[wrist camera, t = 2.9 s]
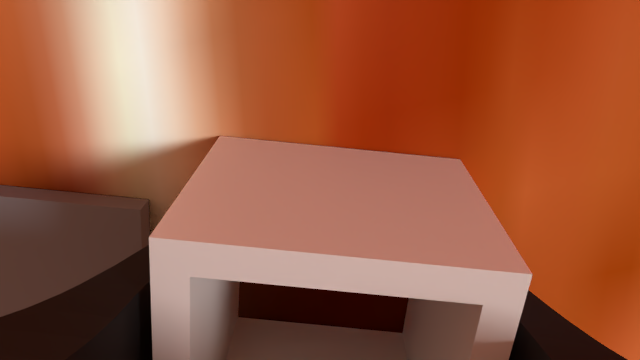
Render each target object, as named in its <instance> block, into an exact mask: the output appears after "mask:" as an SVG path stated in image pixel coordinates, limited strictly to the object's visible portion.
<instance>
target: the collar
mask: <svg viewBox="0 0 640 360" xmlns="http://www.w3.org/2000/svg"><path fill="white" fill-rule="evenodd" d="M149 259H150V292H151V324H152V357H153V360H509V357H510V353H511V350H512V346H513V343H514V339H515V336H516V332H517V328H518V325H519V321H520V318H521V314H522V310H523V307H524V303H525V300H526V296H527V292H528V289H529V285H530V282H531V278H532V275H533V274H532V273H531V271H530V270H529V268H528V267H527V265H526V263H525V262H524V260H523V259H522V257H521V255H520V254H519V252H518V251H517V249H516V247H515V246H514V244H513V243H512V241H511V239H510V238H509V236H508V235H507V233H506V232H505V230H504V228H503V227H502V225H501V224H500V222H499V220H498V219H497V217H496V216H495V214H494V212H493V211H492V209H491V208H490V206H489V205H488V203H487V201H486V200H485V198H484V197H483V195H482V193H481V192H480V190H479V189H478V187H477V185H476V184H475V182H474V181H473V179H472V177H471V176H470V174H469V173H468V171H467V170H466V168H465V166H464V165H463V163H462V162H461V160H460V159H451V158H440V157H430V156H420V155H410V154H400V153H389V152H379V151H369V150H359V149H349V148H338V147H328V146H318V145H308V144H298V143H287V142H277V141H267V140H257V139H246V138H236V137H226V136H219V138H218V139H217V141H216V142H215V144H214V145H213V146H212V148H211V149H210V151H209V152H208V154H207V155H206V156H205V158H204V159H203V161H202V162H201V164H200V165H199V166H198V168H197V169H196V171H195V172H194V174H193V175H192V176H191V178H190V179H189V181H188V182H187V183H186V185H185V186H184V188H183V189H182V191H181V192H180V193H179V195H178V196H177V198H176V199H175V201H174V202H173V203H172V205H171V206H170V208H169V209H168V211H167V212H166V213H165V215H164V216H163V218H162V219H161V221H160V222H159V223H158V225H157V226H156V228H155V229H154V231H153V232H152V233H151V235H150V236H149ZM240 282H250V283H261V284H271V285H281V286H292V287H302V288H312V289H323V290H333V291H343V292H354V293H364V294H374V295H384V296H395V297H405V298H409V299H408V305H407V310H406V316H405V321H404V327H403V332H402V333H397V332H387V331H376V330H366V329H356V328H345V327H335V326H325V325H314V324H304V323H294V322H283V321H273V320H263V319H252V318H242V317H238V309H239V285H240Z"/></svg>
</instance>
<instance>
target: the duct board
mask: <svg viewBox="0 0 640 360" xmlns="http://www.w3.org/2000/svg"><path fill="white" fill-rule="evenodd" d="M149 236H150V222H149V200H148V199H138V198H128V197H117V196H107V195H97V194H87V193H76V192H66V191H56V190H46V189H35V188H25V187H15V186H4V185H0V317H2V316H5V315H8V314H10V313H13V312H16V311H19V310H22V309H25V308H27V307H30V306H33V305H35V304H37V303H40V302H42V301H44V300H47V299H49V298H51V297H54V296H56V295H58V294H61V293H63V292H65V291H67V290H69V289H71V288H73V287H75V286H77V285H79V284H81V283H83V282H85V281H87V280H89V279H91V278H92V277H94V276H96V275H98V274H100V273H102V272H103V271H105V270H107V269H109V268H111V267H113V266H114V265H116V264H118V263H120V262H121V261H123V260H124V259H126V258H128V257H129V256H131V255H133V254H134V253H136V252H138V251H139V250H141V249H143V248H144V247H146V246H147V245H149Z"/></svg>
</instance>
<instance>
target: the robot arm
mask: <svg viewBox="0 0 640 360" xmlns="http://www.w3.org/2000/svg"><path fill="white" fill-rule="evenodd" d="M0 360H153V357H152V324H151V292H150V259H149V245H147V246H146V247H144V248H143V249H141V250H139V251H138V252H136V253H134V254H133V255H131V256H129V257H128V258H126V259H124V260H123V261H121V262H120V263H118V264H116V265H114V266H113V267H111V268H109V269H107V270H105V271H103V272H102V273H100V274H98V275H96V276H94V277H92V278H91V279H89V280H87V281H85V282H83V283H81V284H79V285H77V286H75V287H73V288H71V289H69V290H67V291H65V292H63V293H61V294H58V295H56V296H54V297H51V298H49V299H47V300H44V301H42V302H40V303H37V304H35V305H33V306H30V307H27V308H25V309H22V310H19V311H16V312H13V313H10V314H8V315H5V316H2V317H0ZM509 360H627V359H625V358H624V357H622V356H620V355H619V354H617V353H615V352H614V351H612V350H610V349H609V348H607V347H606V346H604V345H602V344H601V343H599V342H598V341H596V340H595V339H593V338H592V337H590V336H589V335H588V334H586V333H585V332H583V331H582V330H580V329H579V328H578V327H576V326H575V325H573V324H572V323H570V322H569V321H568V320H566V319H565V318H564V317H562V316H561V315H560V314H558V313H557V312H556V311H554V310H553V309H552V308H550V307H549V306H548V305H546V304H545V303H544V302H543V301H541V300H540V299H539V298H538V297H536V296H535V295H534V294H532V293H531V292H530V291H529V290H528V292H527V296H526V300H525V303H524V307H523V310H522V314H521V318H520V321H519V325H518V328H517V332H516V336H515V339H514V343H513V346H512V350H511V353H510V357H509Z"/></svg>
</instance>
